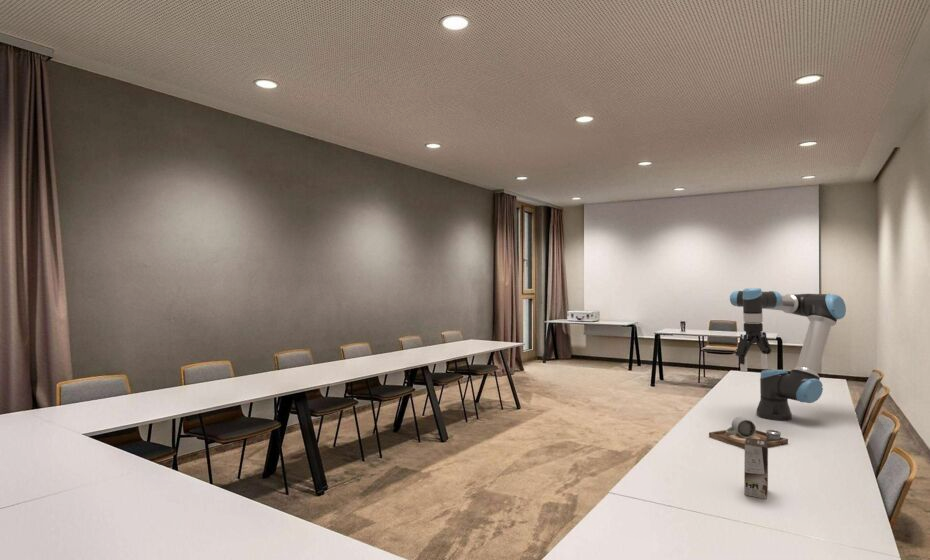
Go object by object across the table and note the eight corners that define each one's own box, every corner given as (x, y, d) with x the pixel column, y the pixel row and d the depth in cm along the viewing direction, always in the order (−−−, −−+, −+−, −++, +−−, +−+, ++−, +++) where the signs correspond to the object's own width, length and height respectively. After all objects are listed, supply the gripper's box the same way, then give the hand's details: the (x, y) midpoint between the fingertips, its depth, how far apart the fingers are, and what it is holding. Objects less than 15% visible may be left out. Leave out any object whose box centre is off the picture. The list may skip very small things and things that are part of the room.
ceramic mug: (748, 432, 228) (747, 415, 228) (756, 438, 220) (756, 420, 220) (722, 432, 229) (722, 414, 229) (729, 438, 221) (729, 419, 221)
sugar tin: (771, 440, 222) (771, 429, 222) (783, 443, 217) (783, 432, 217) (763, 441, 219) (763, 430, 219) (774, 445, 215) (774, 434, 215)
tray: (745, 431, 235) (745, 426, 235) (788, 444, 216) (787, 439, 216) (709, 437, 226) (709, 432, 226) (750, 451, 208) (750, 446, 208)
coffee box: (767, 499, 162) (767, 447, 162) (743, 495, 166) (743, 444, 166) (768, 489, 170) (768, 439, 170) (746, 485, 173) (745, 436, 173)
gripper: (763, 319, 244) (765, 365, 244) (726, 324, 234) (727, 371, 234) (779, 321, 237) (780, 367, 238) (741, 325, 227) (742, 374, 227)
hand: (754, 369), depth 236 cm, fingers open, 13 cm apart
